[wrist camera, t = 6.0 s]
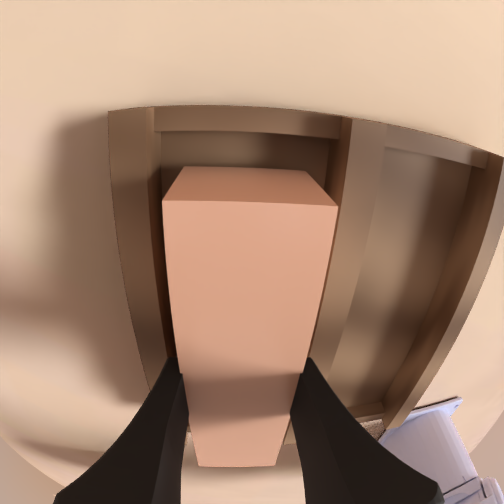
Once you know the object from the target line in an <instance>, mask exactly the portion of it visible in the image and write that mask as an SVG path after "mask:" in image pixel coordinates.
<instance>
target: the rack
mask: <svg viewBox="0 0 504 504" xmlns="http://www.w3.org/2000/svg"><path fill="white" fill-rule="evenodd" d="M108 134H109V158H110V174H111V187H112V198H113V208H114V217H115V225H116V233H117V240H118V247H119V254H120V261H121V267H122V273H123V278H124V284H125V289H126V295H127V300H128V305H129V309H130V314H131V319H132V323H133V328H134V332H135V336H136V341H137V345H138V349H139V353H140V357H141V360H142V364H143V368H144V371H145V375H146V379H147V382H148V386H149V389H150V391H151V389H152V388H153V386H154V384H155V382H156V380H157V379H158V377H159V375H160V373H161V371H162V368H163V366H164V364H165V362H166V359H167V358H169V357H177V350H176V343H175V336H174V328H173V321H172V313H171V304H170V295H169V286H168V276H167V265H166V254H165V241H164V226H163V209H162V200H163V198H164V197H165V195H166V194H167V192H168V190H169V189H170V187H171V186H172V184H173V183H174V181H175V180H176V178H177V177H178V175H179V173H180V172H181V170H182V169H183V167H184V166H200V167H244V168H267V169H285V170H300V171H306V172H307V173H308V174H309V175H310V176H311V177H312V178H313V179H314V180H315V182H316V183H317V184H318V185H319V186H320V187H321V188H322V189H323V190H324V191H325V192H326V193H327V194H328V196H329V197H330V198H331V199H332V200H333V201H334V202H335V203H336V204H337V206H338V212H337V218H336V223H335V229H334V235H333V240H332V246H331V251H330V256H329V261H328V266H327V271H326V276H325V281H324V286H323V291H322V295H321V300H320V304H319V309H318V313H317V317H316V322H315V326H314V330H313V334H312V338H311V342H310V346H309V350H308V354H307V358H308V357H311V358H312V359H313V361H314V362H315V364H316V365H317V367H318V369H319V370H320V372H321V373H322V375H323V377H324V378H325V380H326V381H327V382H328V384H329V385H330V387H331V388H332V390H333V391H334V392H335V394H336V395H337V396H338V398H339V399H340V400H341V402H342V403H343V404H344V406H345V407H346V408H347V409H348V411H349V412H350V413H351V414H352V415H353V416H354V418H355V419H356V420H357V421H358V422H359V423H362V422H368V421H373V420H378V419H382V421H383V424H384V427H385V429H386V430H387V429H392V428H396V427H400V426H401V425H402V423H403V422H404V421H405V419H406V418H407V417H408V415H409V414H410V412H411V411H412V410H413V408H414V407H415V405H416V404H417V403H418V401H419V400H420V398H421V397H422V395H423V394H424V392H425V391H426V389H427V388H428V386H429V385H430V383H431V381H432V380H433V378H434V377H435V375H436V373H437V372H438V370H439V369H440V367H441V365H442V364H443V362H444V360H445V358H446V357H447V355H448V353H449V351H450V350H451V348H452V346H453V344H454V342H455V341H456V339H457V337H458V335H459V333H460V331H461V329H462V327H463V325H464V323H465V321H466V319H467V317H468V315H469V313H470V311H471V309H472V307H473V304H474V302H475V300H476V298H477V296H478V293H479V291H480V289H481V286H482V284H483V281H484V279H485V277H486V274H487V272H488V269H489V266H490V264H491V261H492V258H493V256H494V253H495V250H496V247H497V244H498V241H499V238H500V235H501V232H502V229H503V225H504V157H501V156H499V155H496V154H494V153H491V152H488V151H486V150H483V149H480V148H477V147H474V146H471V145H468V144H465V143H461V142H458V141H455V140H451V139H448V138H444V137H441V136H437V135H433V134H429V133H425V132H422V131H417V130H413V129H409V128H405V127H400V126H396V125H391V124H386V123H381V122H376V121H371V120H365V119H359V118H354V117H347V116H341V115H334V114H327V113H319V112H311V111H302V110H292V109H281V108H268V107H252V106H226V105H180V106H154V107H138V108H129V109H122V110H114V111H108ZM187 432H191V429H190V424H189V419H188V426H187ZM187 432H186V439H185V445H187ZM286 444H296V440H295V435H294V431H293V427H292V422H291V418H290V419H289V422H288V426H287V429H286V432H285V435H284V438H283V445H286Z"/></svg>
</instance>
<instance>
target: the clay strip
mask: <svg viewBox="0 0 504 504" xmlns="http://www.w3.org/2000/svg"><path fill="white" fill-rule="evenodd" d="M162 209H163V226H164V241H165V254H166V265H167V276H168V286H169V295H170V304H171V313H172V321H173V328H174V336H175V343H176V350H177V357H178V363H179V369H180V373H182V374H183V380H184V386H185V392H186V398H187V404H188V409H189V424H190V429H191V434H192V439H193V443H194V448H195V452H196V457H197V461H198V465H199V466H206V467H256V466H275V463H276V460H277V457H278V454H279V451H280V448H281V445H282V442H283V438H284V435H285V432H286V429H287V426H288V422H289V419H290V409H291V406H292V402H293V398H294V395H295V391H296V388H297V384H298V380H299V376H300V373H303V370H304V366H305V362H306V358H307V354H308V350H309V346H310V342H311V338H312V334H313V330H314V326H315V322H316V317H317V313H318V309H319V304H320V300H321V295H322V291H323V286H324V281H325V276H326V271H327V266H328V261H329V256H330V251H331V246H332V240H333V235H334V229H335V223H336V218H337V212H338V206H337V204H336V203H335V202H334V201H333V200H332V199H331V198H330V197H329V196H328V194H327V193H326V192H325V191H324V190H323V189H322V188H321V187H320V186H319V185H318V184H317V183H316V182H315V180H314V179H313V178H312V177H311V176H310V175H309V174H308V173H307V172H306V171H300V170H285V169H267V168H244V167H200V166H184V167H183V169H182V170H181V172H180V173H179V175H178V177H177V178H176V180H175V181H174V183H173V184H172V186H171V187H170V189H169V190H168V192H167V194H166V195H165V197H164V198H163V200H162Z"/></svg>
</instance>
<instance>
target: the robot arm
mask: <svg viewBox="0 0 504 504" xmlns="http://www.w3.org/2000/svg"><path fill="white" fill-rule="evenodd" d="M462 401H463V399H462V398H461V397H459V398H456V399H452V400H449V401H446V402H443V403H439V404H436V405H432V406H429V407H425V408H421V409H417V410H413V411H411V412H410V414H409V415H408V417H407V418H406V419H405V421H404V422H403V423H402V425H401V426H400V427H396V428H392V429H387V430H386V431H385V432H384V434H383V435H382V436H381V438H380V439H379V440H378V441H377V440H376V439H375V438H373V437H372V436H371V435H370V434H369V433H368V432H367V431H366V430H365V429H364V428H363V427H362V425H361V424H360V423H359V422H358V421H357V420H356V419H355V418H354V416H353V415H352V414H351V413H350V412H349V411H348V409H347V408H346V407H345V406H344V404H343V403H342V402H341V400H340V399H339V398H338V396H337V395H336V394H335V392H334V391H333V390H332V388H331V387H330V385H329V384H328V382H327V381H326V380H325V378H324V377H323V375H322V373H321V372H320V370H319V369H318V367H317V365H316V364H315V362H314V361H313V359H312V358H311V357H308V358H306V362H305V366H304V370H303V373H300V376H299V380H298V384H297V388H296V391H295V395H294V398H293V402H292V406H291V409H290V418H291V422H292V427H293V431H294V435H295V440H296V444H297V448H298V452H299V456H300V461H301V466H302V471H303V480H304V489H305V499H306V504H504V496H503V493H502V491H501V489H500V487H499V484H498V483H497V481H496V479H495V478H491V477H486V478H484V479H482V478H479V477H478V475H477V472H476V470H475V468H474V465H473V463H472V461H471V459H470V457H469V454H468V452H467V450H466V448H465V446H464V444H463V442H462V439H461V437H460V435H459V433H458V431H457V429H456V427H455V425H454V423H453V421H452V419H451V417H450V416H451V415H452V414H453V413H454V411H455V410H456V409H457V408H458V406H459V405H460V404H461V403H462ZM188 419H189V409H188V404H187V398H186V392H185V386H184V380H183V374H182V373H180V369H179V363H178V357H169V358H167V359H166V362H165V364H164V366H163V368H162V371H161V373H160V375H159V377H158V379H157V380H156V382H155V384H154V386H153V388H152V389H151V391H150V393H149V395H148V396H147V398H146V400H145V401H144V403H143V405H142V406H141V408H140V409H139V411H138V412H137V413H136V415H135V416H134V418H133V419H132V421H131V422H130V424H129V425H128V426H127V428H126V429H125V430H124V432H123V433H122V434H121V435H120V437H119V438H118V439H117V440H116V441H115V443H114V444H113V445H112V446H111V447H110V448H109V449H108V450H107V451H106V452H105V454H104V455H103V456H102V457H101V458H100V459H99V460H98V461H97V462H96V463H94V464H93V465H92V466H91V467H90V468H89V469H88V470H87V471H86V472H85V473H83V474H82V475H81V476H80V477H79V478H77V479H76V480H75V481H74V482H72V483H71V484H70V485H68V486H67V487H65V488H64V489H63V490H61V491H60V492H59V493H57V495H56V497H55V500H54V503H53V504H181V468H182V459H183V452H184V446H185V439H186V432H187V426H188Z"/></svg>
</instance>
